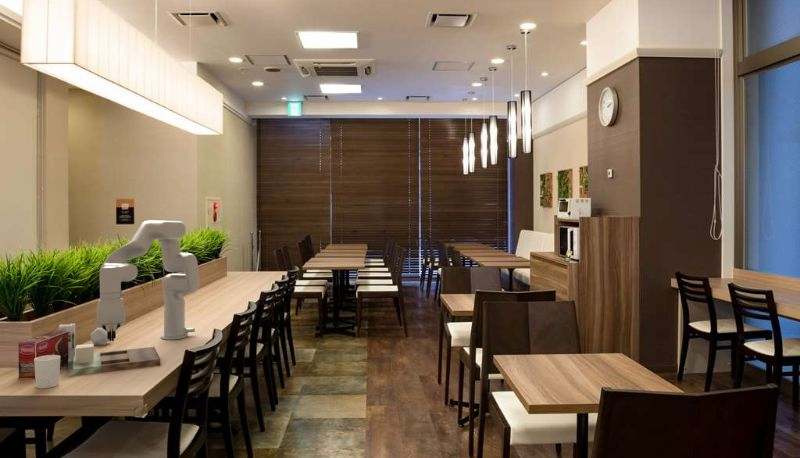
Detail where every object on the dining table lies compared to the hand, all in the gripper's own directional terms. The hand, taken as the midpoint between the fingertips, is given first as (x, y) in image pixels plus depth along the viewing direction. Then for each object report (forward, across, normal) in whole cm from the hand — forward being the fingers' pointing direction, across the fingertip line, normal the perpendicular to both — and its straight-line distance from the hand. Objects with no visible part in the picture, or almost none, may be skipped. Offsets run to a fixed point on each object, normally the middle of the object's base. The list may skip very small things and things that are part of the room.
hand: (111, 340), depth 221 cm
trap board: (+9, -1, +1) cm, 9 cm away
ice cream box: (+9, +23, 0) cm, 25 cm away
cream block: (+7, +10, +1) cm, 12 cm away
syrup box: (+10, +16, -16) cm, 25 cm away
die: (+10, +3, -38) cm, 40 cm away
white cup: (+9, +21, +22) cm, 32 cm away
